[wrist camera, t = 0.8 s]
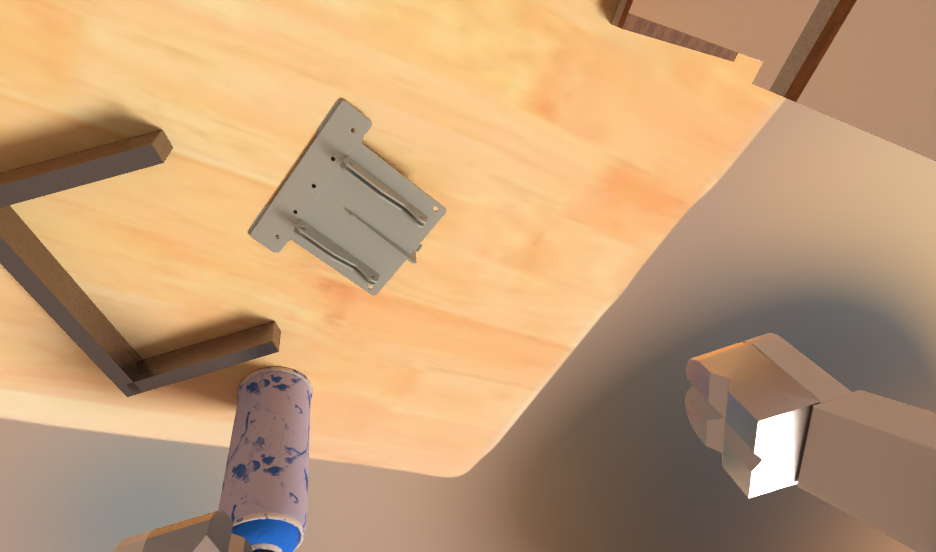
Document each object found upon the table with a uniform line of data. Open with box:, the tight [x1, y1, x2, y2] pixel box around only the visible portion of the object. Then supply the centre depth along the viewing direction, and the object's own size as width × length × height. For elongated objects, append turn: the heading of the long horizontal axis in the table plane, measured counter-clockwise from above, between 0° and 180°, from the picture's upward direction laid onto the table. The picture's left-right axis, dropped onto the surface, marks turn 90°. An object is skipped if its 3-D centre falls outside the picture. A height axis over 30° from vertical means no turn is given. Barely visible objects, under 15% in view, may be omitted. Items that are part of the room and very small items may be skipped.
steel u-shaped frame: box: [0, 130, 281, 397], centre depth 45 cm, size 22×15×3 cm
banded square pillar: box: [611, 0, 936, 161], centre depth 28 cm, size 11×11×35 cm
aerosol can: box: [218, 367, 313, 552], centre depth 50 cm, size 8×8×20 cm
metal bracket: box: [249, 99, 446, 295], centre depth 46 cm, size 14×6×15 cm
